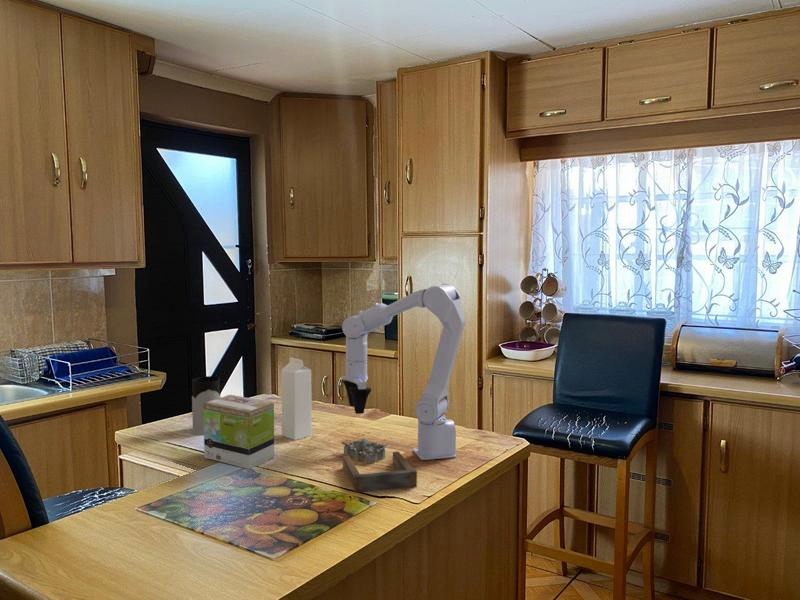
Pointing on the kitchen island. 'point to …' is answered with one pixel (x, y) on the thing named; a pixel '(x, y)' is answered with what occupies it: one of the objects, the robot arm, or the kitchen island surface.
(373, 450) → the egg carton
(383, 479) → the dock
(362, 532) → the kitchen island surface
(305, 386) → the milk
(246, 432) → the tea box
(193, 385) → the glass holder
